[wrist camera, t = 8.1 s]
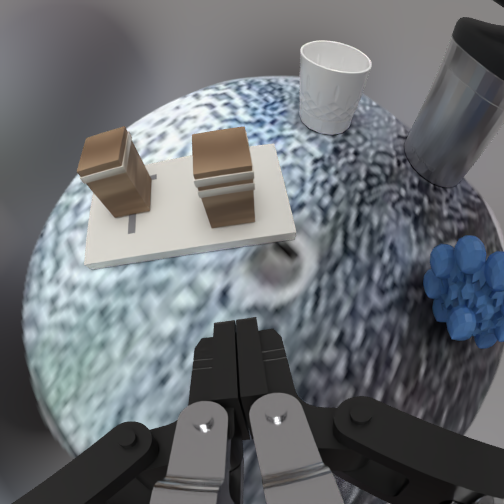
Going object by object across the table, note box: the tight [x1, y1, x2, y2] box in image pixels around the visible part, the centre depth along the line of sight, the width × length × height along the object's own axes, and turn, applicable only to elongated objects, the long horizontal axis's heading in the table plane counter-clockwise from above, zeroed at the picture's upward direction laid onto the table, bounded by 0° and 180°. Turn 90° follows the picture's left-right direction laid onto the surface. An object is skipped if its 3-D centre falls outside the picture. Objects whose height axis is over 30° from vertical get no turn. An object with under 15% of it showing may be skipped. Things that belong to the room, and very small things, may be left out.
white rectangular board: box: [84, 144, 296, 270], centre depth 28 cm, size 11×21×2 cm, turn 98°
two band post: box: [192, 127, 255, 228], centre depth 23 cm, size 4×4×8 cm
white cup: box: [299, 41, 372, 135], centre depth 29 cm, size 8×8×10 cm
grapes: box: [423, 235, 504, 349], centre depth 18 cm, size 12×7×12 cm, turn 43°
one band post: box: [77, 126, 152, 218], centre depth 24 cm, size 4×4×8 cm
